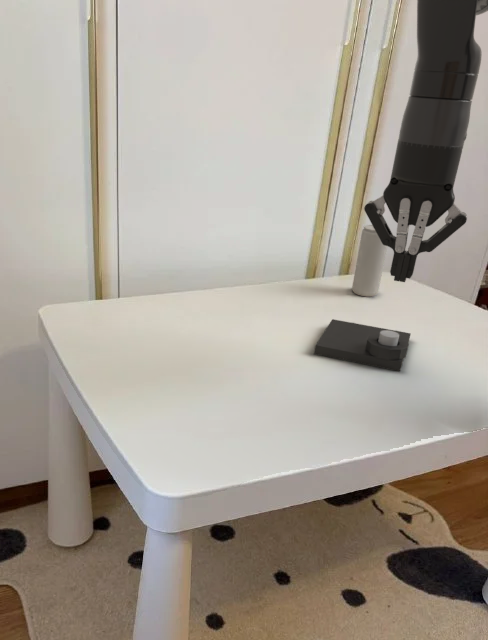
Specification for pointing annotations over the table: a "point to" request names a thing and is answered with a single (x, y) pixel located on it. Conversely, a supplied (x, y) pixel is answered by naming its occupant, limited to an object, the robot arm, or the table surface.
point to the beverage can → (369, 263)
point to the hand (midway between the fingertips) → (400, 280)
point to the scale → (361, 345)
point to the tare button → (388, 338)
